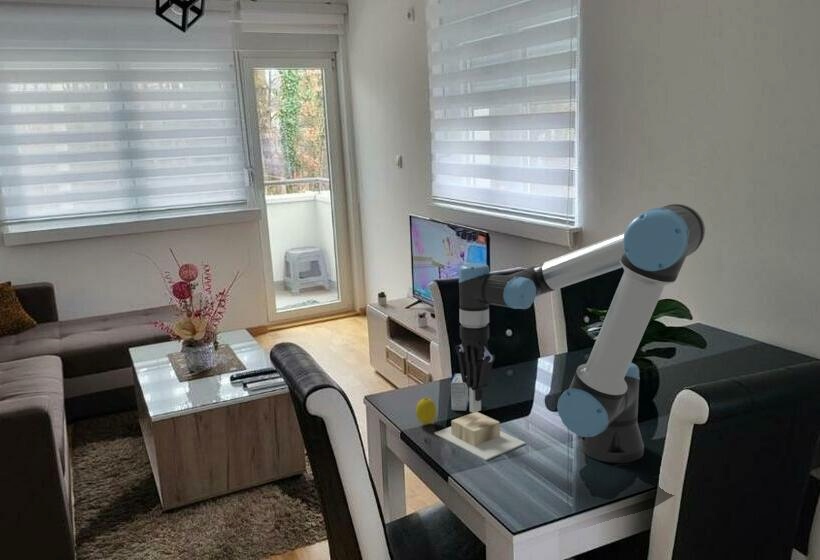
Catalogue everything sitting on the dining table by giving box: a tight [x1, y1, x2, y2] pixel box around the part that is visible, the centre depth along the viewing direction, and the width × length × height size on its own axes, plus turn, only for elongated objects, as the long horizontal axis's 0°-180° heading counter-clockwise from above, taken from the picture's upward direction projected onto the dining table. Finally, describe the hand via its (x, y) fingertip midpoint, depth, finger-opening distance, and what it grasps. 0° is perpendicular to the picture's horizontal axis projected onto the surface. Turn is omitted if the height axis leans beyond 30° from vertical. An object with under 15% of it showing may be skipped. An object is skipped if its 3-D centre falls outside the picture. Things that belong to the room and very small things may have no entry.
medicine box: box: [450, 373, 470, 412], centre depth 195 cm, size 8×4×9 cm, turn 168°
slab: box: [450, 411, 501, 446], centre depth 175 cm, size 9×4×9 cm
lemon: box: [415, 397, 437, 426], centre depth 183 cm, size 6×6×8 cm
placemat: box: [433, 426, 526, 462], centre depth 174 cm, size 20×14×1 cm
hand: (475, 410), depth 173 cm, fingers closed
